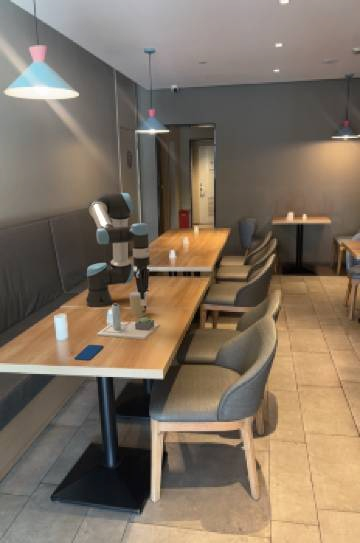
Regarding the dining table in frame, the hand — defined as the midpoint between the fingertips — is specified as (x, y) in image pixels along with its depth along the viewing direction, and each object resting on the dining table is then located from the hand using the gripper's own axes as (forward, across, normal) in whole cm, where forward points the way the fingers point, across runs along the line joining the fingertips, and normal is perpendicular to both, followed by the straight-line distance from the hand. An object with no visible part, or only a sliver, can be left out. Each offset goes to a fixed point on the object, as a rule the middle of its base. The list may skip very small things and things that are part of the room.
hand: (143, 305), depth 214 cm
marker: (+11, -5, +12) cm, 17 cm away
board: (+12, -3, +7) cm, 14 cm away
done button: (+9, 0, 0) cm, 9 cm away
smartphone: (+13, -33, +12) cm, 37 cm away
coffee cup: (+12, +21, +12) cm, 27 cm away
